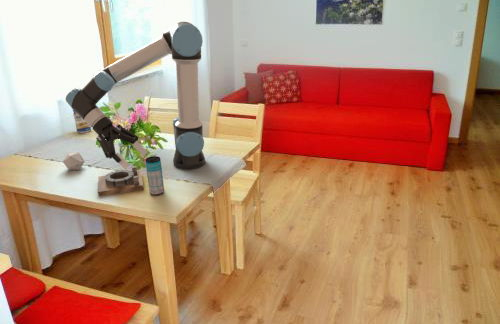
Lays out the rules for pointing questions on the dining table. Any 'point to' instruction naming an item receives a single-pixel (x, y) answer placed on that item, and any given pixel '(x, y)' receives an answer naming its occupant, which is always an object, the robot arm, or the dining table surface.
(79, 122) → the beverage bottle
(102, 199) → the dining table surface
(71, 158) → the die
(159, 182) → the beverage can
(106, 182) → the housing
